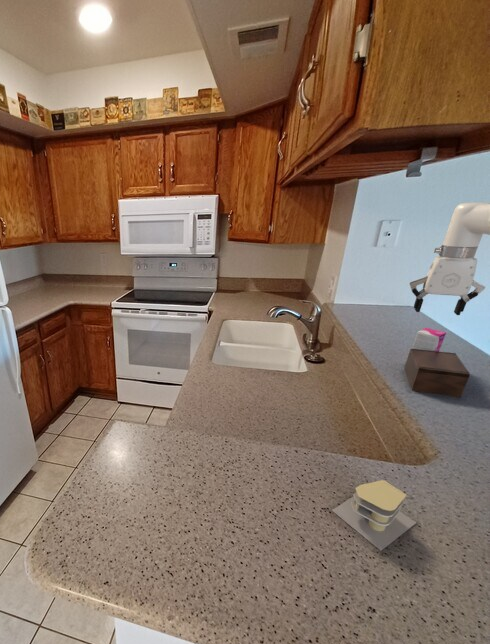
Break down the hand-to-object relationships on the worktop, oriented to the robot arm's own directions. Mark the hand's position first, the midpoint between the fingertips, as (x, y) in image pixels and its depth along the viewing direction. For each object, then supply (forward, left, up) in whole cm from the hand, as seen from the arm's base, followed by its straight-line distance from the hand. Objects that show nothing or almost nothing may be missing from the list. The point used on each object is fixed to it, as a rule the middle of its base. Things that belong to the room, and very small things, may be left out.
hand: (436, 312), depth 98 cm
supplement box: (0, 0, -18) cm, 18 cm away
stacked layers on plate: (+18, +70, -18) cm, 75 cm away
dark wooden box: (-1, +12, -18) cm, 21 cm away
